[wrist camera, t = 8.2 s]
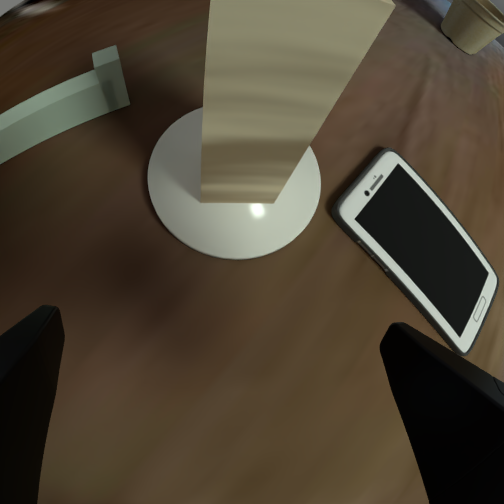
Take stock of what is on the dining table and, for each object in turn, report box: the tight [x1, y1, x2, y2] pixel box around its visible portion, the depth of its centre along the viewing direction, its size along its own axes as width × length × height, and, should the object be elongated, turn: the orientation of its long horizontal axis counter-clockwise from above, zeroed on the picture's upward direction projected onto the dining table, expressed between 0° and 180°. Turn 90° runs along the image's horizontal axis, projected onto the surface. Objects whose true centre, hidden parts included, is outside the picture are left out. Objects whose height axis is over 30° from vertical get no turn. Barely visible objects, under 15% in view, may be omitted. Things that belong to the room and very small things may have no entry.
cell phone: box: [332, 148, 499, 356], centre depth 19 cm, size 8×15×1 cm, turn 47°
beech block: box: [200, 0, 395, 204], centre depth 11 cm, size 4×4×13 cm
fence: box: [0, 45, 130, 164], centre depth 14 cm, size 2×14×4 cm, turn 113°
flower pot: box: [441, 0, 504, 55], centre depth 24 cm, size 9×9×9 cm
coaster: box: [148, 107, 321, 260], centre depth 18 cm, size 10×10×1 cm
